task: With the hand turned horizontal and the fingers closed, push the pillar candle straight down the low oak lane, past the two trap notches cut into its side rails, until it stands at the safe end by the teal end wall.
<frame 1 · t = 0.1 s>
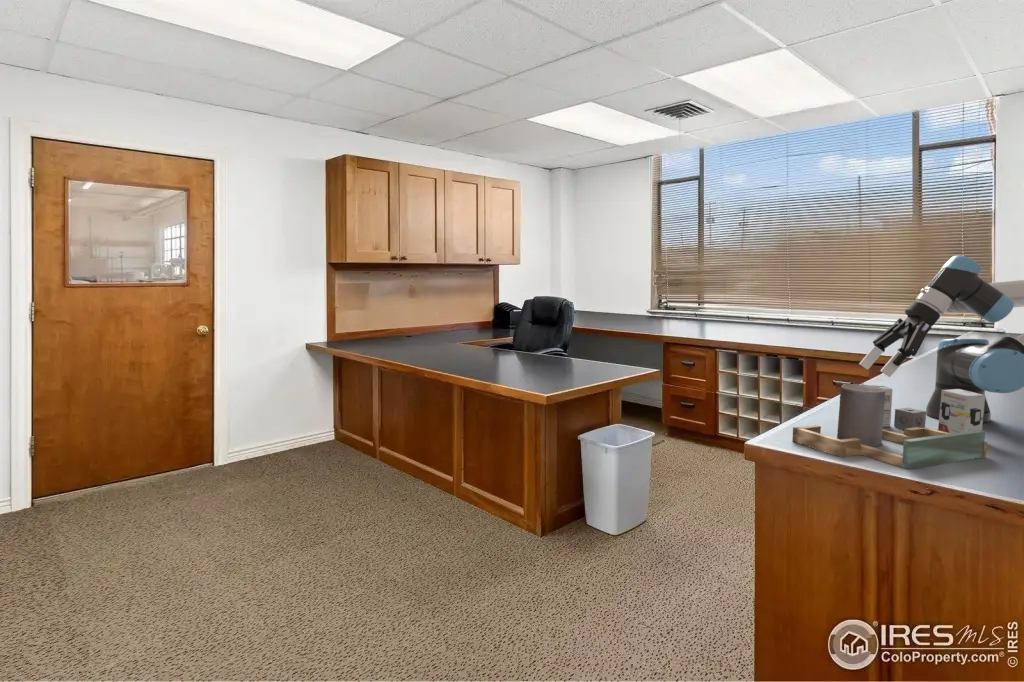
hand: (873, 370, 164), 15 cm above the table, tool tilted 35°, fingers open, 13 cm apart
pillar candle: (859, 442, 148), on the table
grey cube block: (909, 429, 162), on the table
ink box: (958, 437, 153), on the table
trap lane: (881, 448, 143), on the table
light bulb box: (864, 424, 166), on the table
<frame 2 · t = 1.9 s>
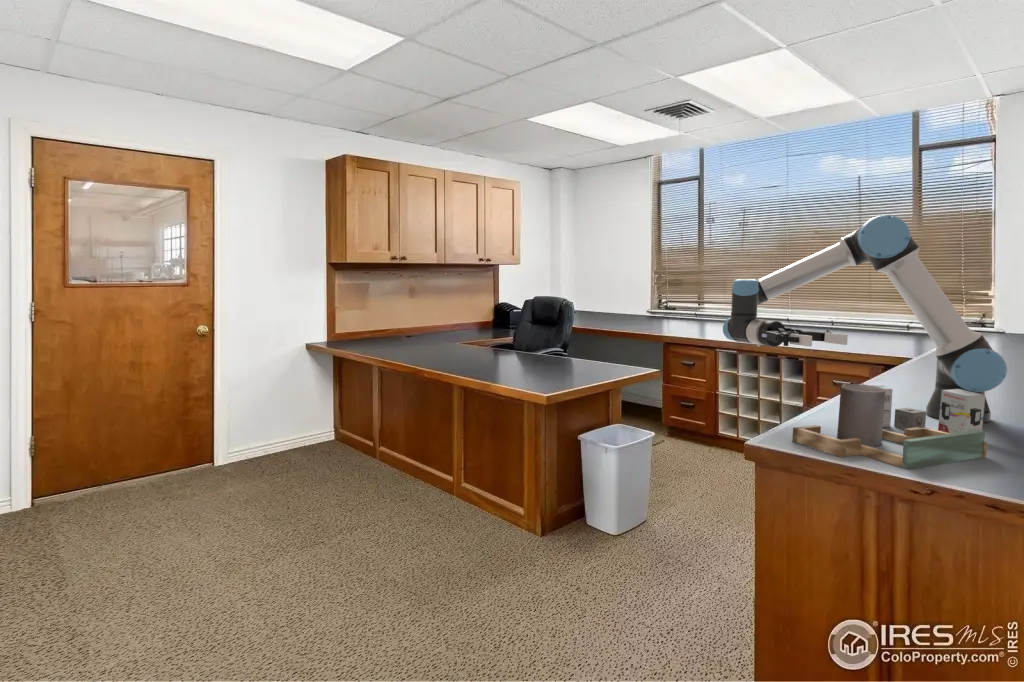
hand: (828, 340, 156), 24 cm above the table, tool horizontal, fingers open, 12 cm apart
nothing on the table moved.
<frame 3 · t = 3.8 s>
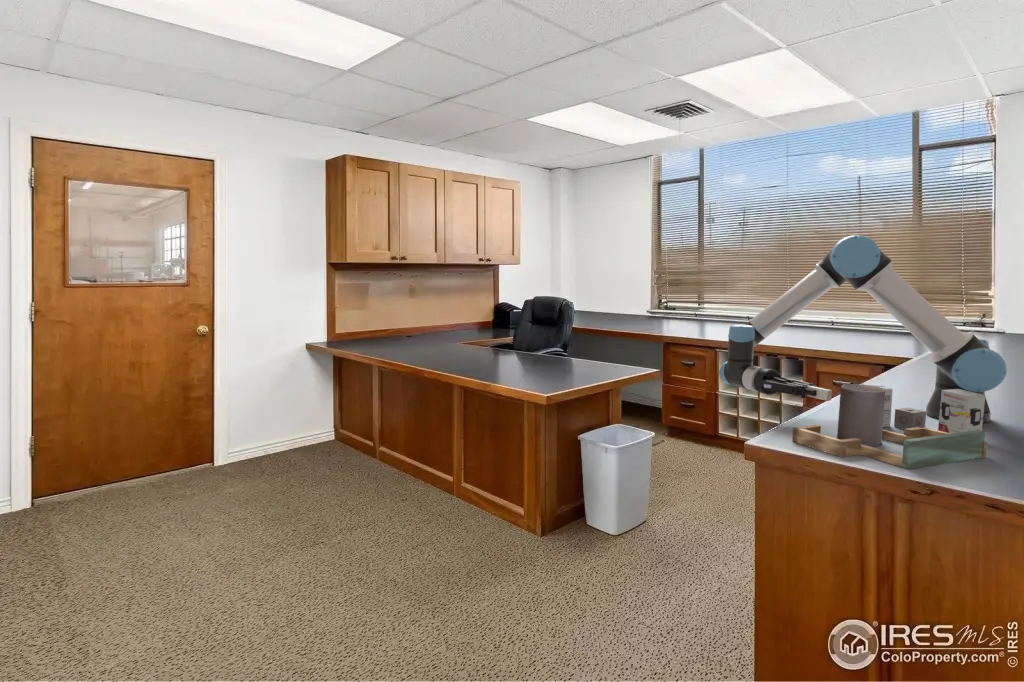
hand: (829, 395, 156), 10 cm above the table, tool horizontal, fingers closed
nothing on the table moved.
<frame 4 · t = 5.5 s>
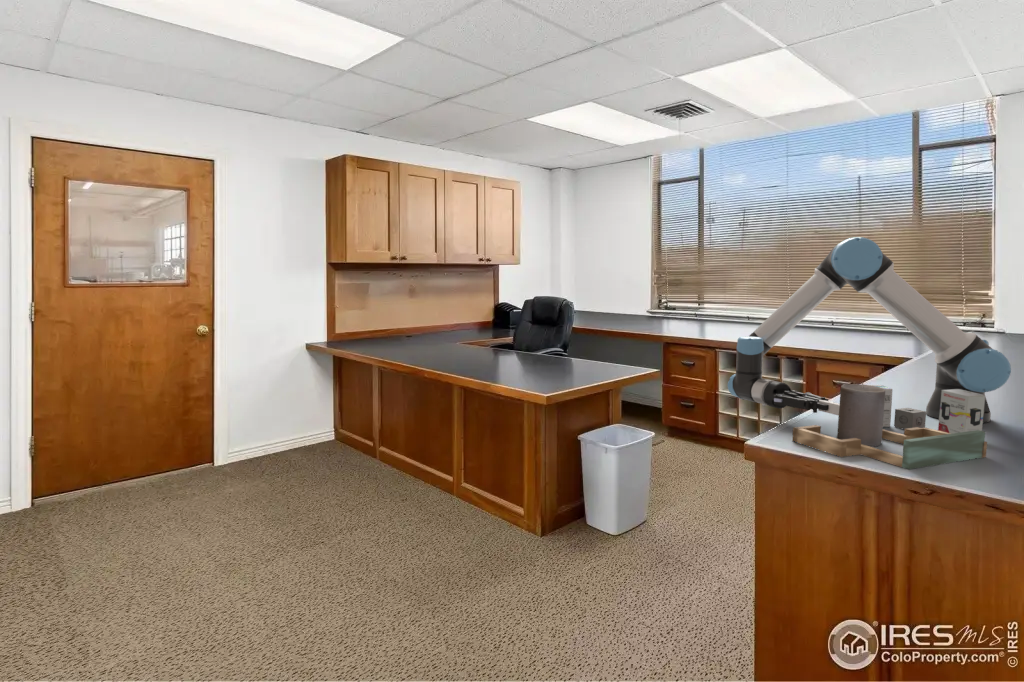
hand: (841, 410, 152), 7 cm above the table, tool horizontal, fingers closed
pillar candle: (859, 442, 148), on the table, touching gripper
everything else where it was.
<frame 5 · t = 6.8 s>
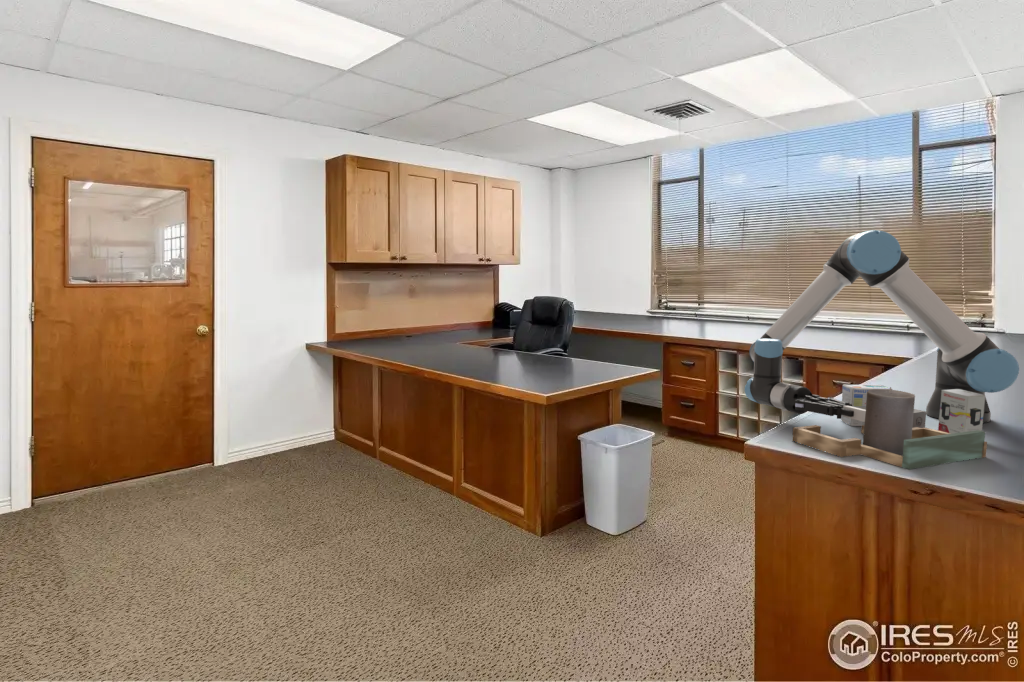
hand: (868, 416, 145), 7 cm above the table, tool horizontal, fingers closed
pillar candle: (886, 450, 141), on the table, touching gripper
everything else where it was.
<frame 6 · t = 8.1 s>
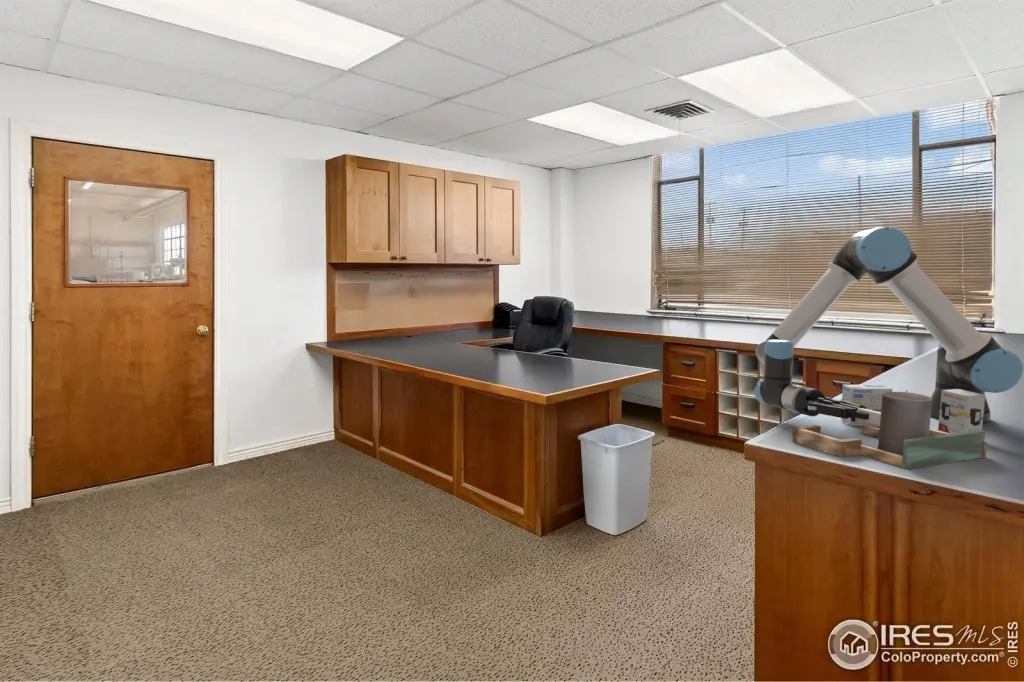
hand: (883, 419, 142), 7 cm above the table, tool horizontal, fingers closed
pillar candle: (902, 454, 138), on the table, touching gripper
everything else where it was.
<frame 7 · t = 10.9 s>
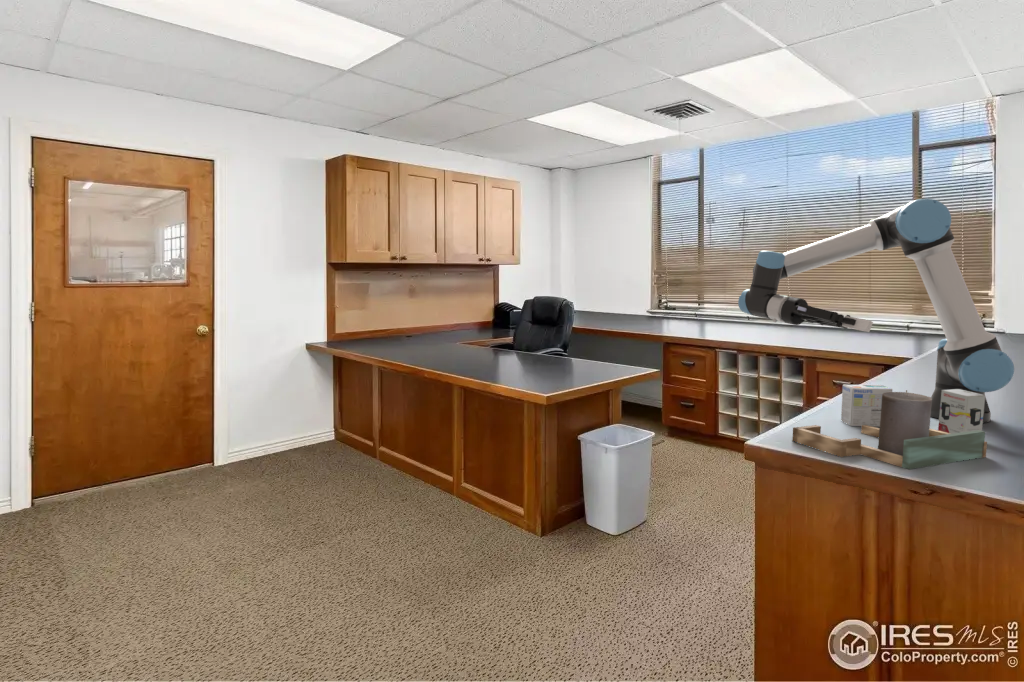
hand: (869, 326, 149), 28 cm above the table, tool horizontal, fingers closed
pillar candle: (902, 454, 138), on the table
everything else where it was.
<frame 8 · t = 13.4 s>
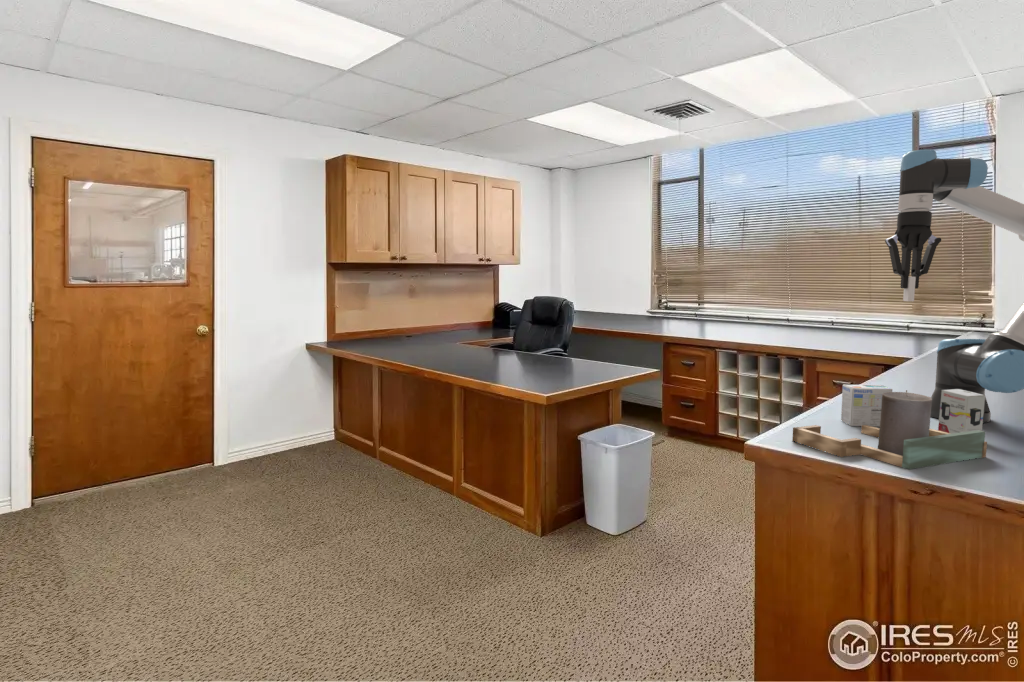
hand: (908, 301, 160), 34 cm above the table, tool pointing down, fingers closed
nothing on the table moved.
at the end: pillar candle inside the target area (0.6 cm from its centre), on the table; pillar candle tilted 0°; pillar candle moved 11.1 cm from its start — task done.
